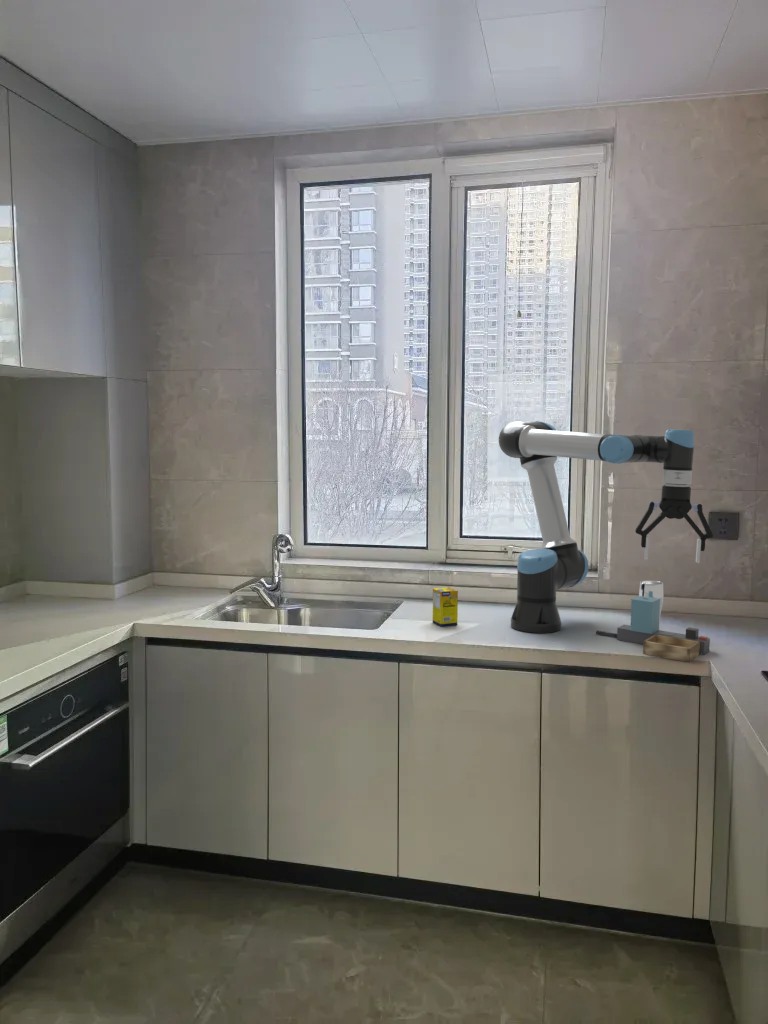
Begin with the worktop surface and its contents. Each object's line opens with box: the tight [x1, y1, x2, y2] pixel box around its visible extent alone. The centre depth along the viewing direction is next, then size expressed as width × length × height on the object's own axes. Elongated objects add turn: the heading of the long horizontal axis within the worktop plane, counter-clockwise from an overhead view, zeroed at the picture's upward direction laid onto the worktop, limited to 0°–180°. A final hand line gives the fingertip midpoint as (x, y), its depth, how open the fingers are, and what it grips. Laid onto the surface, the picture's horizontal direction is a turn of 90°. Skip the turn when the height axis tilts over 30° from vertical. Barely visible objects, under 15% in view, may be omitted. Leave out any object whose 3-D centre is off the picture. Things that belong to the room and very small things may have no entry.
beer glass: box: [638, 579, 664, 630], centre depth 229 cm, size 7×7×15 cm
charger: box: [630, 595, 661, 634], centre depth 217 cm, size 6×6×12 cm
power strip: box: [595, 624, 711, 656], centre depth 216 cm, size 32×5×6 cm, turn 52°
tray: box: [642, 635, 701, 663], centre depth 205 cm, size 12×9×4 cm
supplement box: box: [432, 587, 459, 627], centre depth 238 cm, size 6×6×11 cm
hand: (671, 560), depth 215 cm, fingers open, 13 cm apart
